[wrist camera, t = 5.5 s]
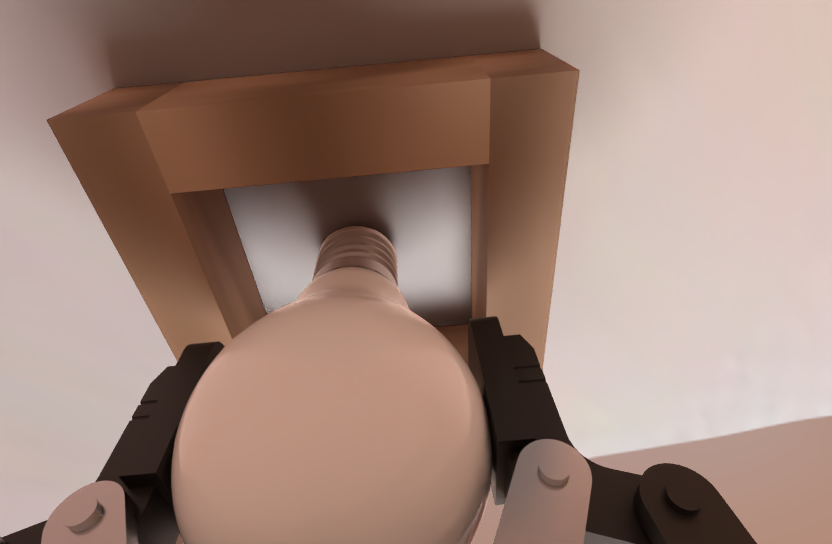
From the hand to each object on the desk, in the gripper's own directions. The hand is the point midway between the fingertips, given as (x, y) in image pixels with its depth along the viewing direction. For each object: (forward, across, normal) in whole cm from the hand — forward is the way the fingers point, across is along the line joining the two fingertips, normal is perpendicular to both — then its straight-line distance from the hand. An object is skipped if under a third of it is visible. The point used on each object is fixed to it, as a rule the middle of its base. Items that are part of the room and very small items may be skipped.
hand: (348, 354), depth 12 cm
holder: (+5, 0, 0) cm, 5 cm away
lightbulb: (+5, 0, 0) cm, 5 cm away
